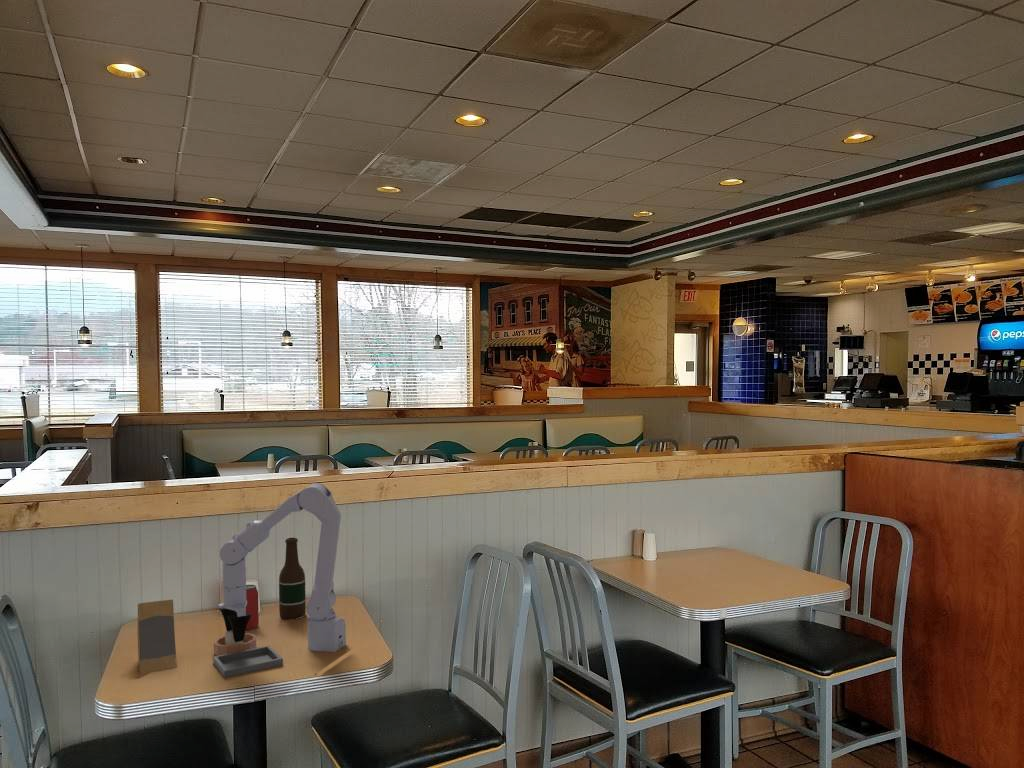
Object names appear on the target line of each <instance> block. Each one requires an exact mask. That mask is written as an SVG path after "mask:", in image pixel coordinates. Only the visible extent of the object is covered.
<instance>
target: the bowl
mask: <svg viewBox="0 0 1024 768" xmlns="http://www.w3.org/2000/svg"><path fill="white" fill-rule="evenodd" d="M257 638H258V637H257V635H256V634H253V633H247V632H245V636H244V640H243V643H242V644H238V645H225V635H223V636H220V637H218V638H216V639H214V641H213V655H215V656H219V655H224V654H229V653H234V652H239V651H244V650H249V649H254V648H258V639H257Z"/></svg>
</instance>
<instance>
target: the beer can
mask: <svg viewBox="0 0 1024 768" xmlns="http://www.w3.org/2000/svg"><path fill="white" fill-rule="evenodd" d="M246 600H247V605H246V613H250V614H251V618H250V619H249V621H248V624H247V627H246V631H252V630H254V629H256V628H258V627H259V624H260V621H259V618H260V616H259V614H260V613H259V590H258V589H257V585H255V584H246Z"/></svg>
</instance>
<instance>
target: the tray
mask: <svg viewBox="0 0 1024 768" xmlns="http://www.w3.org/2000/svg"><path fill="white" fill-rule="evenodd" d="M212 663H213V666H215V668H216V669H217V671H218V672H219V673H220V675H221V676H222V677H223V678H224V679H227V678H231V677H236V676H239V675H245V674H250V673H253V672H258V671H262V670H267V669H273V668H276V667H280V666H284V658H283V657H282V656H281V655H280V654H279V653H278V652H277V651H276V650H275V649H274V648H273V647H272V646H271V645H266V646H265V645H264V646H260V647H257V648H254V649H249V650H244V651H239V652H234V653H229V654H224V655H219V656H216V655H215V656H212Z"/></svg>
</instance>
